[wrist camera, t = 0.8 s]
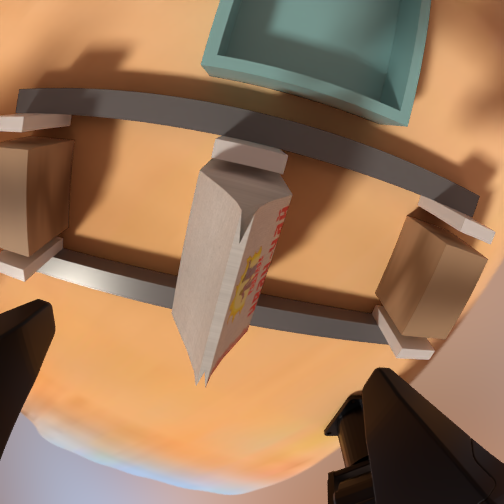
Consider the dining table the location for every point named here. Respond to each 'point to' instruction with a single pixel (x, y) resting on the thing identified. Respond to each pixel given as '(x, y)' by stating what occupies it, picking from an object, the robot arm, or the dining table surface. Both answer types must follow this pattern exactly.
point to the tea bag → (226, 257)
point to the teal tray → (325, 51)
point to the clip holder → (247, 153)
